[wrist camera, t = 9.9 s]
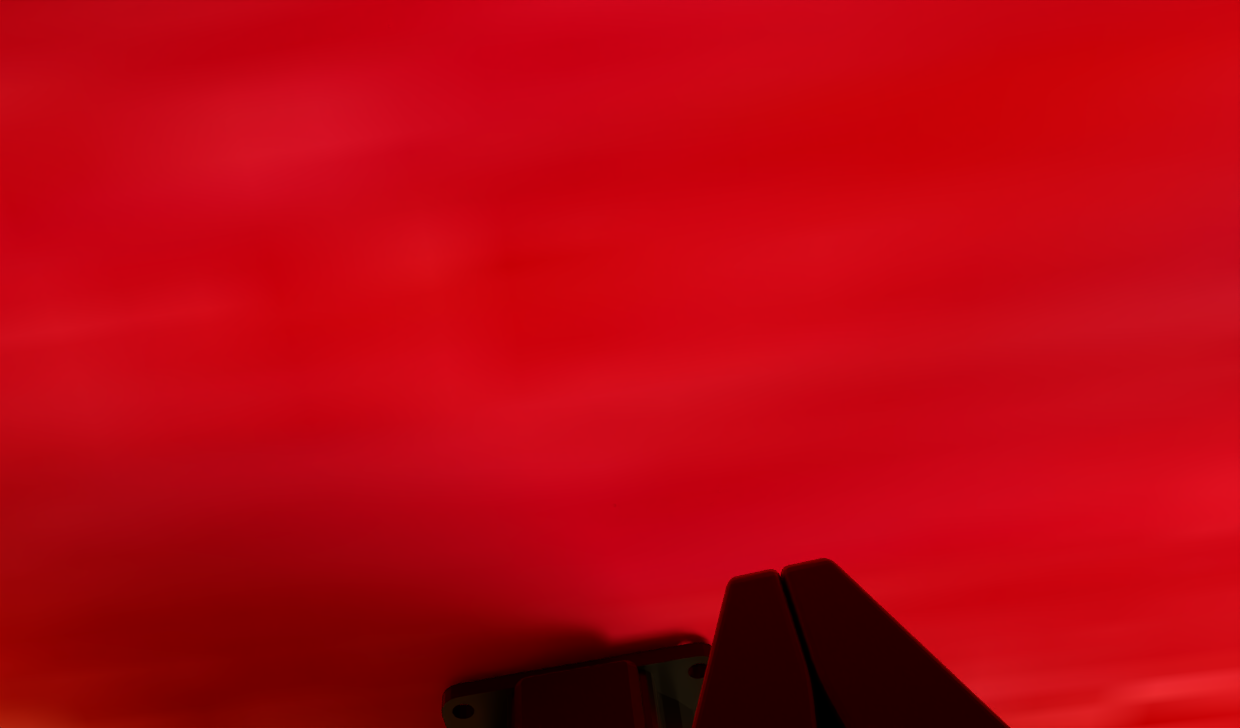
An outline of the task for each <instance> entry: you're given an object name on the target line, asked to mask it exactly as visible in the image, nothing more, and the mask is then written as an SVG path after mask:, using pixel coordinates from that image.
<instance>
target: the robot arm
mask: <svg viewBox="0 0 1240 728" xmlns="http://www.w3.org/2000/svg"><path fill="white" fill-rule="evenodd" d="M697 663H703V664H700V665H694V664H697ZM460 704H468V705H460ZM442 716H443V719H444V722H445V725H446V727H447V728H1010V727H1009V726H1008V725H1007V724H1006V723H1005V722H1004V721H1003V720H1002V719H1001V718H999V717H998V716H997V715H996V714H995V713H994V712H993V711H992V710H991V709H990V708H989V707H988V706H987V705H986V704H985V703H984V702H982V701H981V700H980V699H979V698H978V697H977V696H976V695H975V694H974V693H973V692H972V691H971V690H970V689H969V688H968V687H967V686H965V685H964V684H963V683H962V682H961V681H960V680H959V679H958V678H957V677H956V676H955V675H954V674H953V673H952V672H951V671H950V670H948V669H947V668H946V667H945V666H944V665H943V664H942V663H941V662H940V661H939V660H938V659H937V658H936V657H935V656H934V655H933V654H931V653H930V652H929V651H928V650H927V649H926V648H925V647H924V646H923V645H922V644H921V643H920V642H919V641H918V640H917V639H916V638H915V637H913V636H912V635H911V634H910V633H909V632H908V631H907V630H906V629H905V628H904V627H903V626H902V625H901V624H900V623H899V622H898V621H896V620H895V619H894V618H893V617H892V616H891V615H890V614H889V613H888V612H887V611H886V610H885V609H884V608H883V607H882V606H881V605H879V604H878V603H877V602H876V601H875V600H874V599H873V598H872V597H871V596H870V595H869V594H868V593H867V592H866V591H865V590H864V589H862V588H861V587H860V586H859V585H858V584H857V583H856V582H855V581H854V580H853V579H852V578H851V577H850V576H849V575H848V574H847V573H845V572H844V571H843V570H842V569H841V568H840V567H839V566H838V565H837V564H836V563H834V562H833V561H832V560H830V559H827V558H820V559H816V560H811V561H806V562H802V563H797V564H792V565H788V566H785V567H784V568H783V569H782V572H781V577H780V575H779V573H778V572H777V571H775V570H773V569H769V570H764V571H759V572H755V573H750V574H745V575H741V576H736V577H733V578H732V579H731V580H730V581H729V582H728V584H727V587H726V590H725V594H724V598H723V602H722V607H721V611H720V615H719V619H718V623H717V627H716V631H715V635H714V639H713V643H712V646H711V645H709V644H705V643H691V644H685V645H679V646H674V647H668V648H662V649H656V650H650V651H645V652H639V653H633V654H627V655H621V656H616V657H610V658H604V659H598V660H592V661H587V662H581V663H575V664H569V665H563V666H557V667H552V668H546V669H540V670H534V671H528V672H523V673H517V674H511V675H505V676H499V677H494V678H488V679H482V680H476V681H470V682H465V683H459V684H456V685H453V686H450V687H449V688H448V689H446V690H445V692H444V694H443V696H442Z"/></svg>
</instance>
